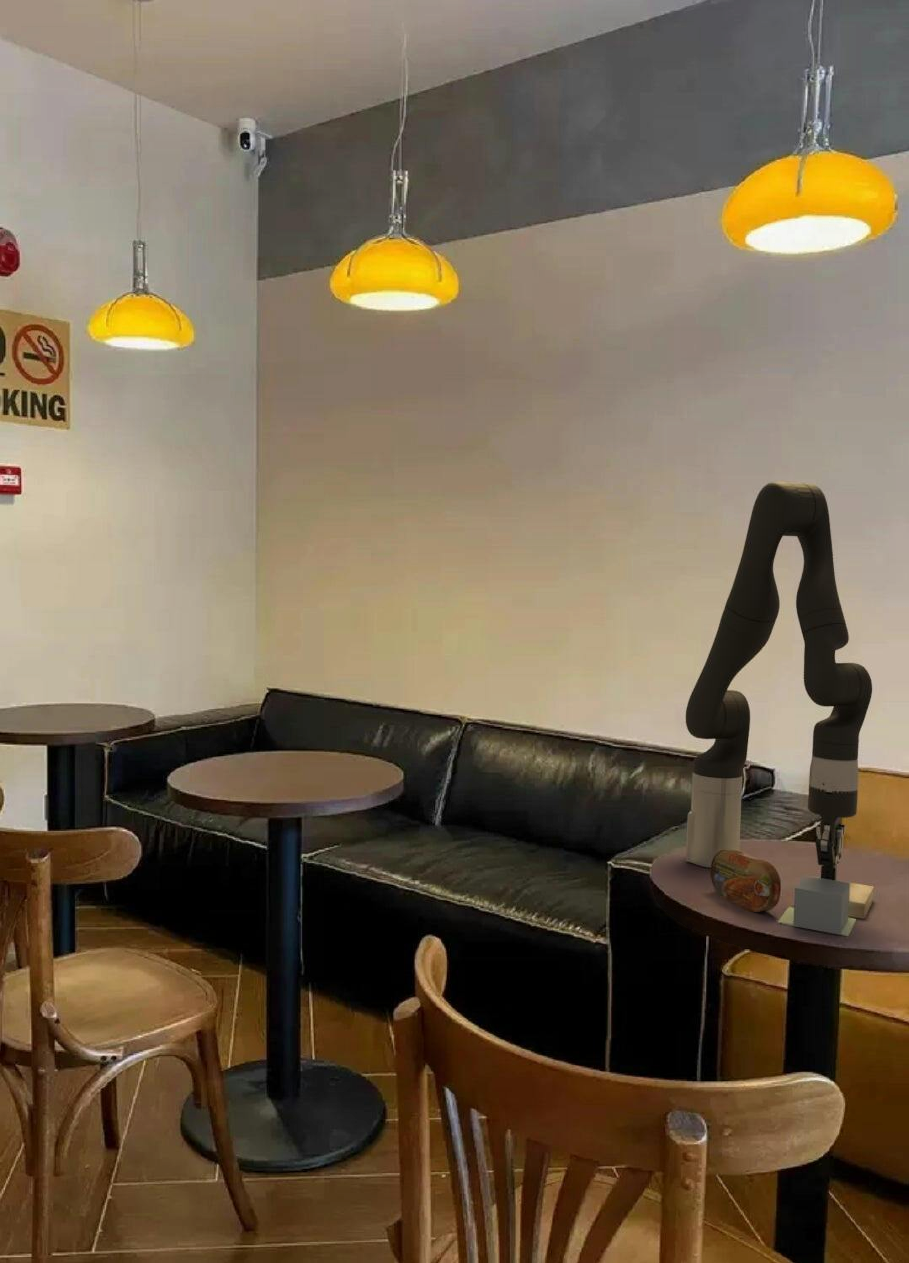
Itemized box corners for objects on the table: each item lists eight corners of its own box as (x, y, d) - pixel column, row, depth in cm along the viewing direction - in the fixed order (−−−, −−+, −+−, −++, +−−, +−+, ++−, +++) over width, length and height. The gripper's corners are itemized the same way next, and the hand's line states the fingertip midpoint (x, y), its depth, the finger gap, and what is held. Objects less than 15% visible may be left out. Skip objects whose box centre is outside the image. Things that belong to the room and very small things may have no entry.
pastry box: (793, 925, 158) (794, 888, 157) (802, 911, 165) (804, 875, 164) (840, 934, 154) (842, 896, 154) (848, 919, 161) (850, 883, 161)
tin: (707, 892, 175) (709, 844, 175) (722, 890, 176) (724, 842, 176) (767, 919, 162) (770, 867, 161) (783, 917, 163) (785, 866, 162)
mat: (777, 923, 160) (777, 921, 160) (788, 908, 167) (788, 907, 167) (848, 936, 154) (848, 934, 154) (856, 920, 162) (856, 919, 162)
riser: (793, 906, 168) (794, 891, 168) (806, 889, 178) (807, 875, 178) (864, 919, 163) (865, 903, 163) (873, 901, 172) (873, 886, 172)
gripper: (817, 775, 172) (811, 875, 173) (801, 788, 161) (795, 895, 162) (863, 781, 168) (858, 883, 169) (851, 794, 157) (845, 904, 158)
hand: (827, 888), depth 165 cm, fingers closed
